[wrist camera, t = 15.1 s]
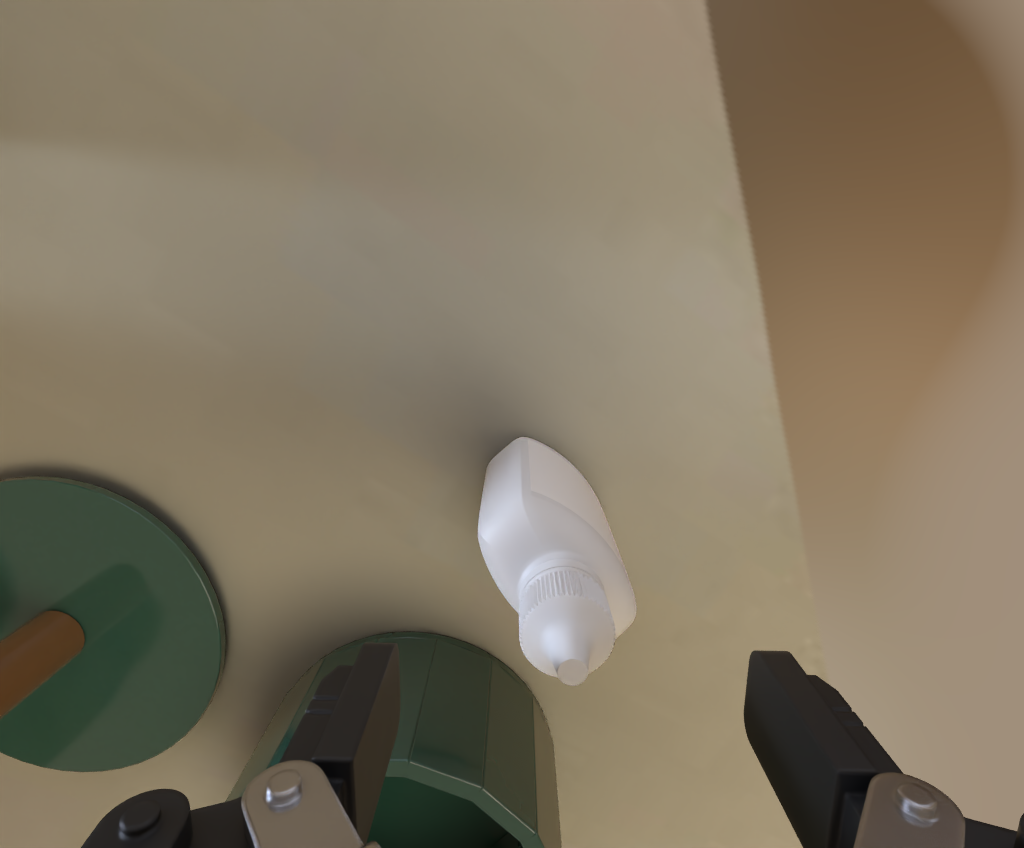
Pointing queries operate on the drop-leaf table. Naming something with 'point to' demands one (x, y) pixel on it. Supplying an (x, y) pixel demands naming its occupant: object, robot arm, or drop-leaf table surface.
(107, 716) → the canister lid
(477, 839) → the canister
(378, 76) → the drop-leaf table surface
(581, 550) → the eye dropper bottle
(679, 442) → the drop-leaf table surface
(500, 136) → the drop-leaf table surface
